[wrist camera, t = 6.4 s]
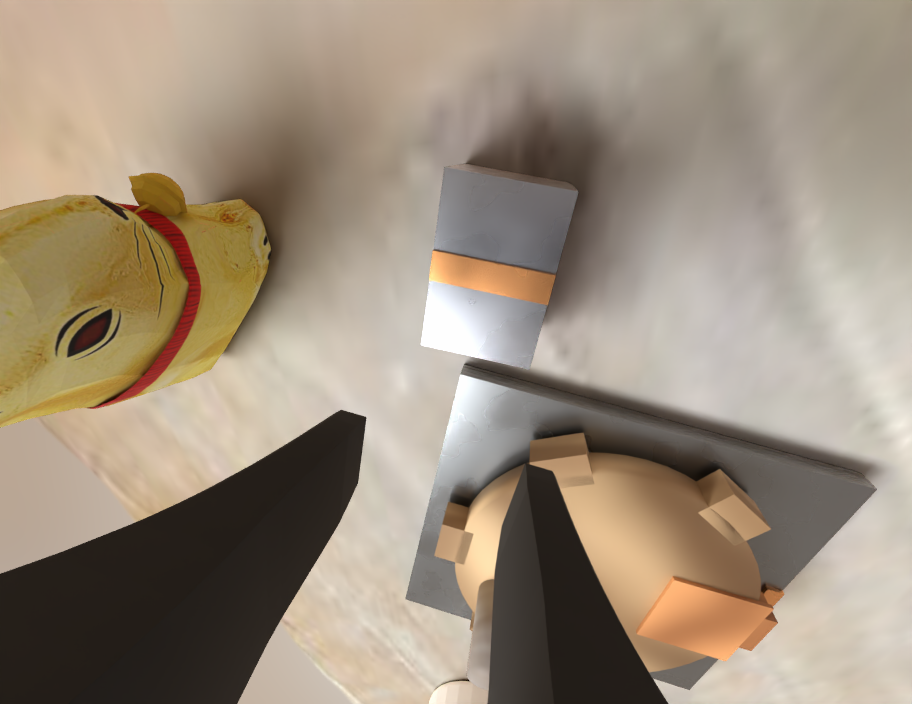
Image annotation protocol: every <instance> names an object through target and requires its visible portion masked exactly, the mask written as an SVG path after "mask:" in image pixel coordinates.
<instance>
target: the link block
mask: <svg viewBox="0 0 912 704" xmlns="http://www.w3.org/2000/svg"><path fill="white" fill-rule="evenodd" d="M578 192H579V191H578V190H577V189H576V188H575V187H574V186H573V185H572V184H571V183H569V182H564V181H558V180H553V179H547V178H542V177H536V176H531V175H525V174H520V173H514V172H509V171H503V170H498V169H493V168H487V167H482V166H476V165H471V164H459V165H453V166H447V167H444V174H443V182H442V189H441V197H440V205H439V212H438V220H437V227H436V235H435V242H434V250H433V253H432V260H431V268H430V276H429V288H428V295H427V303H426V311H425V318H424V326H423V333H422V341H421V345H423V346H427V347H432V348H436V349H440V350H445V351H449V352H454V353H458V354H462V355H467V356H471V357H476V358H480V359H484V360H489V361H493V362H498V363H502V364H507V365H511V366H515V367H520V368H524V369H529V370H530V366H531V363H532V359H533V355H534V352H535V348H536V345H537V341H538V337H539V334H540V330H541V326H542V323H543V319H544V316H545V312H546V308H547V305H548V302H549V299H550V295H551V291H552V288H553V284H554V281H555V277H556V272H557V269H558V265H559V261H560V258H561V254H562V250H563V247H564V243H565V240H566V236H567V232H568V229H569V225H570V221H571V218H572V214H573V211H574V207H575V203H576V200H577V196H578Z"/></svg>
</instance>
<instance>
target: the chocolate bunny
mask: <svg viewBox="0 0 912 704" xmlns="http://www.w3.org/2000/svg"><path fill="white" fill-rule="evenodd" d="M129 179H130V182H131V184H132V188H131V190H132V192H133V195H134V197H135V199H136V201H137V203H138V204H139V206H134V205H126V204H119V203H113V202H111V201H109V200H106V199H104V198H102V197H99V196H95V195H64V196H61V197H58V198H55V199H50V200H42V201H37V202H32V203H27V204H22V205H18V206H13V207H10V208H6V209H3V210H0V428H1V427H4V426H7V425H10V424H13V423H17V422H20V421H24V420H27V419H30V418H35V417H39V416H44V415H48V414H53V413H57V412H62V411H66V410H71V409H75V408H90V409H96V408H100V407H104V406H109V405H112V404H115V403H118V402H121V401H125V400H128V399H131V398H134V397H137V396H140V395H143V394H146V393H150V392H153V391H156V390H159V389H162V388H164V387H167V386H170V385H172V384H175V383H179V382H182V381H185V380H188V379H191V378H193V377H196V376H198V375H200V374H202V373H204V372H206V371H208V370H211V369H212V367H213V366H214V364H215V363H216V361H217V360H218V358H219V357H220V356H221V354H222V353H223V352H224V350H225V349H226V347H227V346H228V344H229V342H230V341H231V339H232V337H233V335H234V334H235V332H236V330H237V329H238V327H239V325H240V324H241V322H242V320H243V319H244V317H245V315H246V313H247V312H248V310H249V308H250V307H251V305H252V303H253V302H254V300H255V298H256V296H257V293H258V291H259V289H260V286H261V284H262V281H263V279H264V277H265V275H266V273H267V269H268V264H269V260H270V255H271V247H270V244H269V240H268V237H267V233H266V230H265V227H264V223H263V220H262V218H261V217H260V215H259V213H257V212H256V211H255V210H254V209H253V208H251V207H250V206H249V205H248V204H247V203H245V202H244V201H243V200H242V199H237V200H229V201H220V202H212V203H207V204H202V205H186V204H185V198H184V194H183V191H182V190H181V188H180V187H179V185H178V184H177V183H176V182H174V181H173V180H172V179H171V178H169V177H167V176H165V175H162V174H158V173H145V174H141V175H139V176H130V177H129Z"/></svg>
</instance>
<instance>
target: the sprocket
mask: <svg viewBox="0 0 912 704" xmlns="http://www.w3.org/2000/svg"><path fill="white" fill-rule="evenodd" d="M527 464H530V465H534V466H537V467H541V468H544V469H548V470H551V471H553V473H554V474H555V476H556V479H557V482H558V485H559V487H560V490H561V493H562V495H563V498H564V501H565V503H566V506H567V508H568V511H569V513H570V516H571V518H572V521H573V523H574V526H575V528H576V530H577V533H578V535H579V537H580V540H581V542H582V544H583V546H584V549H585V551H586V553H587V555H588V557H589V560H590V562H591V564H592V566H593V568H594V571H595V573H596V575H597V577H598V579H599V581H600V583H601V585H602V587H603V589H604V591H605V593H606V595H607V597H608V599H609V601H610V603H611V605H612V607H613V609H614V611H615V613H616V615H617V616H618V618H619V620H620V622H621V624H622V626H623V628H624V629H625V631H626V633H627V635H628V637H629V639H630V640H631V642H632V644H633V646H634V647H635V649H636V651H637V653H638V654H639V656H640V658H641V660H642V661H643V663H644V665H645V666H646V668H647V670H648V671H649V672H655V671H661V670H666V669H672V668H676V667H679V666H683V665H686V664H690V663H692V662H695V661H697V660H700V659H702V658H705V657H707V656H710V657H713V658H717V659H720V660H723V661H727V660H728V658H729V657H730V656H731V655H732V654H733V653H734V652H735V651H736V650H737V649H738V648H743V649H746V650H749V651H752V650H753V649H754V647H755V646H756V645H757V644H758V643H759V642H760V641H761V640H762V639H763V638H764V637H765V636H766V635H767V634H768V633H769V632H770V631H771V630H772V629H773V627H774V626H775V625H776V624H777V623H778V622H777V620H776V618H775V616H774V614H773V612H772V611H773V607H772V605H771V604H768V602H767V600H766V598H765V596H764V594H763V592H761V578H760V573H759V568H758V564H757V562H756V559H755V557H754V555H753V552H752V550H751V548H750V546H749V544H748V542H747V540H749V539H751V538H753V537H756V536H758V535H760V534H762V533H764V532H767V531H769V530H771V528H770V526H769V525H768V523H767V521H766V520H765V518H764V516H763V515H762V513H761V511H760V510H759V508H758V507H757V505H756V503H755V502H754V501H753V500H752V499H751V498H750V497H749V496H748V495H747V494H746V493H745V492H744V491H743V490H742V489H741V488H739V487H738V486H737V485H736V484H735V483H734V482H733V481H732V480H731V479H730V478H729V477H728V476H727V475H726V474H725V473H724V472H723V471H721V470H720V469H718V470H717V471H715V472H713V473H711V474H709V475H708V476H706V477H704V478H702V479H700V480H698V481H697V482H696V481H695V480H693V479H691V478H690V477H688V476H686V475H685V474H682V473H680V472H678V471H676V470H674V469H671V468H669V467H667V466H664V465H661V464H658V463H655V462H652V461H649V460H646V459H641V458H637V457H632V456H627V455H620V454H611V453H591V452H589V451H588V448H587V444H586V440H585V436H584V432H583V433H577V434H571V435H564V436H558V437H552V438H545V439H539V440H533V441H530V459H529V463H527ZM524 465H525V464H523V465H521V466H518V467H516V468H514V469H512V470H510V471H508V472H506V473H505V474H503V475H501V476H500V477H498V478H496V479H495V480H494V481H492V482H491V483H490V484H489V485H488V486H486V487H485V488H484V489H483V490H482V491H481V492H480V493H479V494H478V496H477V497H476V498H475V499H474V500H473V502H472V504H471V505H470V507H465V506H462V505H458V504H455V503H451V502H448V504H447V508H446V512H445V516H444V519H443V523H442V527H441V531H440V535H439V539H438V543H437V547H436V551H435V555H434V556H436V557H439V558H442V559H446V560H449V561H452V562H455V572H456V577H457V582H458V585H459V588H460V590H461V593H462V595H463V597H464V598H465V600H466V602H467V604H468V605H469V607H470V608H471V609H472V618H471V624H470V630H471V631H472V638H471V645H470V652H469V659H468V666H467V678H468V679H469V681H470V682H471V683H473V684H474V685H475V686H477V687H479V688H481V689H484V690H488V691H489V673H490V652H491V632H492V611H493V592H494V574H495V566H496V559H497V552H498V546H499V540H500V533H501V527H502V524H503V521H504V518H505V516H506V513H507V510H508V508H509V505H510V502H511V500H512V497H513V494H514V492H515V489H516V486H517V484H518V481H519V478H520V476H521V473H522V470H523V468H524Z"/></svg>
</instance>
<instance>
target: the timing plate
mask: <svg viewBox="0 0 912 704" xmlns="http://www.w3.org/2000/svg"><path fill="white" fill-rule="evenodd" d="M583 432H584V436H585V440H586V444H587V448H588V451H589V452H591V453H611V454H620V455H627V456H632V457H637V458H641V459H646V460H649V461H652V462H655V463H658V464H661V465H664V466H667V467H669V468H671V469H674V470H676V471H678V472H680V473H682V474H685V475H686V476H688V477H690V478H691V479H693V480H695V481H696V482H697V481H698V480H700V479H702V478H704V477H706V476H708V475H709V474H711V473H713V472H715V471H717V470H718V469H720V470H721V471H723V472H724V473H725V474H726V475H727V476H728V477H729V478H730V479H731V480H732V481H733V482H734V483H735V484H736V485H737V486H738V487H739V488H741V489H742V490H743V491H744V492H745V493H746V494H747V495H748V496H749V497H750V498H751V499H752V500H753V501H754V502H755V503H756V505H757V507H758V508H759V510H760V511H761V513H762V515H763V516H764V518H765V520H766V521H767V523H768V525H769V526H770V528H771V530H769V531H767V532H764V533H762V534H760V535H758V536H756V537H753V538H751V539H749V540H747V542H748V544H749V546H750V548H751V550H752V552H753V555H754V557H755V559H756V562H757V564H758V568H759V573H760V578H761V592H763V594H764V596H765V598H766V600H767V602H768V604H771V605H772V607H773V606H774V605H775V604H776V603H777V602H778V601H779V600H780V599H781V598H782V596H783V595H784V592H783V591H782V590H783V589H784V588H785V587H786V586H787V585H788V584H789V583H790V582H791V581H792V580H793V579H794V578H795V576H796V575H797V574H798V573H799V572H800V571H801V570H802V569H803V568H804V567H805V566H806V565H807V564H808V563H809V562H810V560H811V559H812V558H813V557H814V556H815V555H816V554H817V553H818V552H819V551H820V550H821V549H822V548H823V547H824V546H825V544H826V543H827V542H828V541H829V540H830V539H831V538H832V537H833V536H834V535H835V534H836V533H837V532H838V531H839V529H840V528H841V527H842V526H843V525H844V524H845V523H846V522H847V521H848V520H849V519H850V518H851V517H852V516H853V515H854V513H855V512H856V511H857V510H858V509H859V508H860V507H861V506H862V505H863V504H864V503H865V502H866V501H867V500H868V498H869V497H870V496H871V495H872V494H873V493H874V492H875V491H876V490H877V489H876V488H875V487H874V486H873V485H872V484H871V483H870V482H869V481H868V480H867V479H866V478H865V477H864V476H863V475H862V474H861V473H859V472H856V471H852V470H849V469H845V468H841V467H838V466H834V465H830V464H827V463H823V462H819V461H816V460H812V459H808V458H805V457H801V456H797V455H794V454H790V453H786V452H783V451H779V450H776V449H772V448H768V447H765V446H761V445H757V444H754V443H750V442H746V441H743V440H739V439H735V438H732V437H728V436H724V435H721V434H717V433H713V432H710V431H706V430H703V429H699V428H695V427H692V426H688V425H684V424H681V423H677V422H673V421H670V420H666V419H662V418H659V417H655V416H651V415H648V414H644V413H640V412H637V411H633V410H630V409H626V408H622V407H619V406H615V405H611V404H608V403H604V402H600V401H597V400H593V399H589V398H586V397H582V396H578V395H575V394H571V393H567V392H564V391H560V390H557V389H553V388H549V387H546V386H542V385H538V384H535V383H531V382H527V381H524V380H520V379H516V378H513V377H509V376H505V375H502V374H498V373H494V372H491V371H487V370H484V369H480V368H476V367H473V366H469V365H465V364H464V366H463V369H462V372H461V374H460V378H459V382H458V386H457V391H456V395H455V399H454V403H453V407H452V411H451V415H450V419H449V423H448V427H447V431H446V435H445V440H444V444H443V448H442V452H441V456H440V460H439V464H438V468H437V472H436V476H435V480H434V484H433V489H432V493H431V497H430V501H429V505H428V509H427V513H426V517H425V521H424V525H423V529H422V533H421V538H420V542H419V546H418V550H417V554H416V558H415V562H414V566H413V570H412V574H411V578H410V582H409V587H408V591H407V595H406V599H407V600H410V601H413V602H416V603H419V604H423V605H426V606H429V607H432V608H435V609H438V610H441V611H444V612H448V613H451V614H454V615H457V616H460V617H463V618H466V619H469V620H471V618H472V609H471V608H470V607H469V605H468V604H467V602H466V600H465V598H464V597H463V595H462V593H461V590H460V588H459V585H458V582H457V577H456V572H455V562H452V561H449V560H446V559H442V558H439V557H436V556H434V555H435V551H436V547H437V543H438V539H439V535H440V531H441V527H442V523H443V519H444V516H445V512H446V508H447V504H448V502H451V503H455V504H458V505H462V506H465V507H470V505H471V504H472V502H473V500H474V499H475V498H476V497H477V496H478V494H479V493H480V492H481V491H482V490H483V489H484V488H485V487H486V486H488V485H489V484H490V483H491V482H492V481H494V480H495V479H496V478H498V477H500V476H501V475H503V474H505V473H506V472H508V471H510V470H512V469H514V468H516V467H518V466H521V465H523V464H525V463H529V459H530V441H533V440H539V439H545V438H552V437H558V436H564V435H571V434H577V433H583ZM717 660H718V659H717V658H713V657H710V656H707V657H705V658H702V659H700V660H697V661H695V662H692V663H690V664H686V665H683V666H679V667H676V668H672V669H666V670H661V671H655V672H649V673H650V675H651V676H652V678H654V679H657V680H660V681H663V682H666V683H669V684H672V685H676V686H679V687H682V688H685V689H688V690H690V689H691V688H692V687H693V685H694V684H695V683H696V682H697V681H698V680H699V679H700V678H701V677H702V676H703V675H704V674H705V673H706V672H707V671H708V669H709V668H710V667H711V666H712V665H713V664H714V663H715V662H716V661H717Z"/></svg>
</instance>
